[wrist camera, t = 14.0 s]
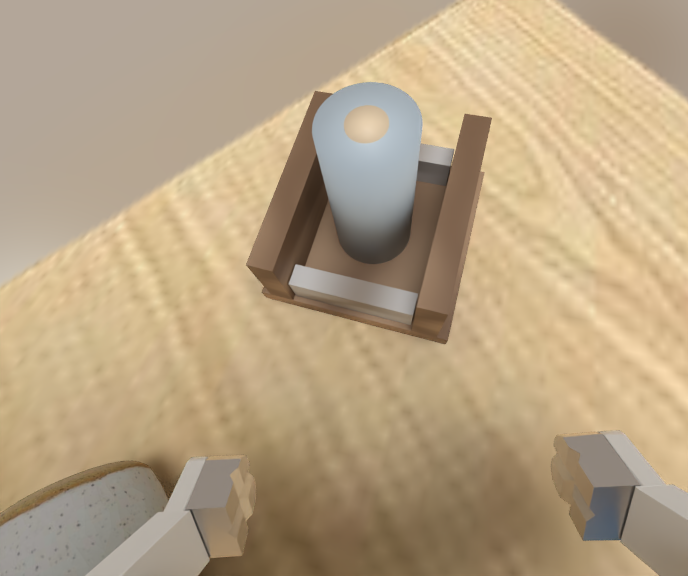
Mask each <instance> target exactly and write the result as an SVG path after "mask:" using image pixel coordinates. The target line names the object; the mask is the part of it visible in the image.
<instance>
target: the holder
mask: <svg viewBox="0 0 688 576" xmlns="http://www.w3.org/2000/svg"><path fill="white" fill-rule="evenodd" d="M331 95H332V94H331V93H324V92H318V91H315V92H314V95H313V97H312V100H311V102H310V105H309V108H308V110H307V113H306V115H305V118H304V120H303V123H302V125H301V128H300V130H299V133H298V135H297V138H296V140H295V143H294V145H293V148H292V150H291V153H290V155H289V158H288V160H287V163H286V165H285V168H284V170H283V173H282V175H281V178H280V180H279V183H278V185H277V188H276V190H275V193H274V196H273V198H272V201H271V203H270V206H269V208H268V211H267V213H266V216H265V218H264V221H263V223H262V226H261V228H260V231H259V233H258V236H257V238H256V241H255V243H254V246H253V248H252V251H251V253H250V256H249V258H248V261H247V263H246V265H247V267H248V268H249V269H250V270H251V271H252V273H253V274H254V275H255V276H256V277H257V278H258V280H259V281H260V282H261V283H262V284H263V285H264V288H263V290H262V293H263V294H264V295H265V296H266V297H267V298H271V299H275V300H279V301H282V302H286V303H290V304H294V305H298V306H302V307H305V308H309V309H313V310H317V311H321V312H324V313H328V314H332V315H336V316H340V317H344V318H347V319H351V320H355V321H359V322H363V323H367V324H370V325H374V326H378V327H382V328H386V329H390V330H393V331H397V332H401V333H405V334H409V335H412V336H416V337H420V338H424V339H428V340H432V341H435V342H439V343H443V344H446V342H447V341H448V337H449V332H450V327H451V323H452V318H453V314H454V309H455V304H456V300H457V295H458V291H459V286H460V282H461V277H462V272H463V268H464V263H465V259H466V254H467V250H468V245H469V240H470V236H471V231H472V227H473V222H474V218H475V213H476V208H477V204H478V199H479V195H480V190H481V185H482V181H483V176H484V172H480V169H481V165H482V160H483V156H484V151H485V147H486V142H487V138H488V133H489V129H490V124H491V120H492V118H489V117H483V116H476V115H469V114H465V115H464V119H463V123H462V127H461V131H460V135H459V139H458V143H457V147H456V151H455V155H454V159H453V163H452V166H451V162H452V158H453V153H454V149H450V148H444V147H438V146H432V145H426V144H420V152H419V161H418V170H417V179H416V188H415V197H414V206H413V215H412V224H411V233H410V239H409V242H408V244H407V246H406V247H405V249H404V250H403V251H402V252H401V253H400V254H399V255H398V256H397V257H395V258H394V259H392V260H390V261H387V262H384V263H380V264H367V263H362V262H359V261H357V260H355V259H353V258H352V257H350V256H349V255H348V254H347V253H346V252H345V251H344V249H343V248H342V246H341V244H340V241H339V238H338V234H337V230H336V226H335V222H334V218H333V214H332V211H331V207H330V203H329V199H328V195H327V191H326V187H325V183H324V179H323V175H322V172H321V168H320V164H319V160H318V156H317V152H316V148H315V144H314V140H313V136H312V125H313V120H314V117H315V114H316V113H317V111H318V109H319V107H320V106H321V105H322V104H323V102H324V101H325V100H326V99H327V98H329V97H330V96H331Z"/></svg>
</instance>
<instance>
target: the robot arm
mask: <svg viewBox="0 0 688 576" xmlns="http://www.w3.org/2000/svg"><path fill="white" fill-rule="evenodd" d="M554 447H555V449H556V451H557V454H556V455H555V456H554V457H553V458H552V461H551V472H552V478H553V482H554V485H555V487H556V490H557V492H558V494H559V496H560V498H562V499H563V500H564V501H566V502H567V503H568V504H570V511H569V515H570V517H571V519H572V521H573V523H574V525H575V527H576V529H577V531H578V532H579V534H580V536H581V538H582V540H583V541H589V540H621V541H620V542H621V543H622V544H623V545H625V546H626V547H627V548H628V549H629V550H630V551H631V552H633V553H634V554H635V555H636V556H637V557H638V558H640V559H641V560H642V561H643V562H644V563H645V564H647V565H648V566H649V567H650V568H651V569H652V570H653V571H655V572H656V573H657V574H658V575H659V576H688V493H687V492H685V491H683V490H682V489H680V488H678V487H676V486H675V485H666V484H665V482H664V481H663V480H662V479H661V478H660V476H659V475H658V474H657V473H656V471H655V470H654V469H653V468H652V467H651V465H650V464H649V463H648V462H647V461H646V459H645V458H644V457H643V456H642V454H641V453H640V452H639V451H638V450H637V448H636V447H635V446H634V445H633V443H632V442H631V441H630V440H629V439H628V437H627V436H626V435H625V434H624V433H623V432H621V431H620V430H615V431H601V432H586V433H572V434H559V435H557V436H556V437H555V440H554ZM249 466H250V463H249V460H248V457H247V455H226V456H207V457H191V458H190V459H189V460H188V461H187V463H186V465H185V467H184V469H183V471H182V473H181V476H180V478H179V480H178V482H177V484H176V486H175V488H174V490H173V493H172V495H171V497H170V499H169V501H168V503H167V505H166V507H165V509H164V512H158V513H156V514H155V515H154V516H153V517H152V518H151V519H150V520H148V521H147V522H146V523H145V524H144V525H143V526H142V527H140V528H139V529H138V530H137V531H136V532H135V533H134V534H132V535H131V536H130V537H129V538H128V539H127V540H126V541H124V542H123V543H122V544H121V545H120V546H119V547H117V548H116V549H115V550H114V551H113V552H112V553H111V554H109V555H108V556H107V557H106V558H105V559H104V560H103V561H101V562H100V563H99V564H98V565H97V566H96V567H95V568H93V569H92V570H91V571H90V572H89V573H88V574H87V575H85V576H198V575H199V574H200V572H201V571H202V570H203V569H204V567H205V566H206V565H207V563H208V562H209V561H210V559H209V558H219V557H233V556H242V555H243V551H244V547H245V543H246V539H247V536H248V532H249V529H248V526H247V522H246V521H247V520H248V518H249V517H250V516H251V515H252V514H253V511H254V507H255V502H256V484H255V480H254V476H253V475H251V474H250V473H249V472H248V470H249Z"/></svg>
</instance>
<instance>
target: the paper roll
mask: <svg viewBox="0 0 688 576" xmlns="http://www.w3.org/2000/svg"><path fill="white" fill-rule="evenodd" d="M421 134H422V116H421V112H420V110H419V107H418V106H417V104H416V103H415V101H414V100H413V99H412V98H411V97H410V96H409V95H408V94H407V93H405V92H404V91H402V90H400V89H398V88H396V87H394V86H391V85H388V84H384V83H376V82H367V83H359V84H354V85H351V86H348V87H345V88H343V89H341V90H339V91H337V92H335V93H334V94H332V95H331V96H330V97H329V98H327V99H326V100H325V101H324V102H323V104H322V105H321V106H320V107H319V109H318V111H317V113H316V114H315V117H314V120H313V125H312V136H313V140H314V144H315V148H316V152H317V156H318V160H319V164H320V168H321V172H322V175H323V179H324V183H325V187H326V191H327V195H328V199H329V203H330V207H331V211H332V214H333V218H334V222H335V226H336V230H337V234H338V238H339V241H340V244H341V246H342V248H343V249H344V251H345V252H346V253H347V254H348V255H349V256H350V257H352V258H353V259H355V260H357V261H359V262H362V263H367V264H380V263H384V262H387V261H390V260H392V259H394V258H395V257H397V256H398V255H399V254H400V253H401V252H402V251H403V250H404V249H405V247H406V246H407V244H408V242H409V239H410V233H411V224H412V215H413V206H414V197H415V188H416V179H417V170H418V161H419V152H420V143H421Z"/></svg>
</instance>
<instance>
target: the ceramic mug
mask: <svg viewBox="0 0 688 576" xmlns="http://www.w3.org/2000/svg"><path fill="white" fill-rule="evenodd" d="M167 503H168V498H167V496H166V494H165V492H164V489H163V487H162V485H161V484H160V482H159V481H158V479H157V477H156V475H155V474H154V472H153V471H152V469H151V468H150V467H149V466H148V465H146V464H143V463H140V462H136V461H121V462H115V463H110V464H106V465H102V466H99V467H95V468H92V469H89V470H86V471H83V472H80V473H78V474H75V475H73V476H70V477H67V478H65V479H62V480H60V481H58V482H55V483H53V484H51V485H49V486H47V487H45V488H43V489H41V490H39V491H37V492H35V493H33V494H31V495H29V496H27V497H25V498H24V499H22V500H20V501H18V502H17V503H15V504H14V505H12V506H11V507H9V508H8V509H6V510H5V511H3V512H2V513H1V514H0V576H85V575H87V574H88V573H89V572H90V571H91V570H92V569H93V568H95V567H96V566H97V565H98V564H99V563H100V562H101V561H103V560H104V559H105V558H106V557H107V556H108V555H109V554H111V553H112V552H113V551H114V550H115V549H116V548H117V547H119V546H120V545H121V544H122V543H123V542H124V541H126V540H127V539H128V538H129V537H130V536H131V535H132V534H134V533H135V532H136V531H137V530H138V529H139V528H140V527H142V526H143V525H144V524H145V523H146V522H147V521H148V520H150V519H151V518H152V517H153V516H154V515H155V514H156V513H158V512H164V509H165V507H166V505H167Z"/></svg>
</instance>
